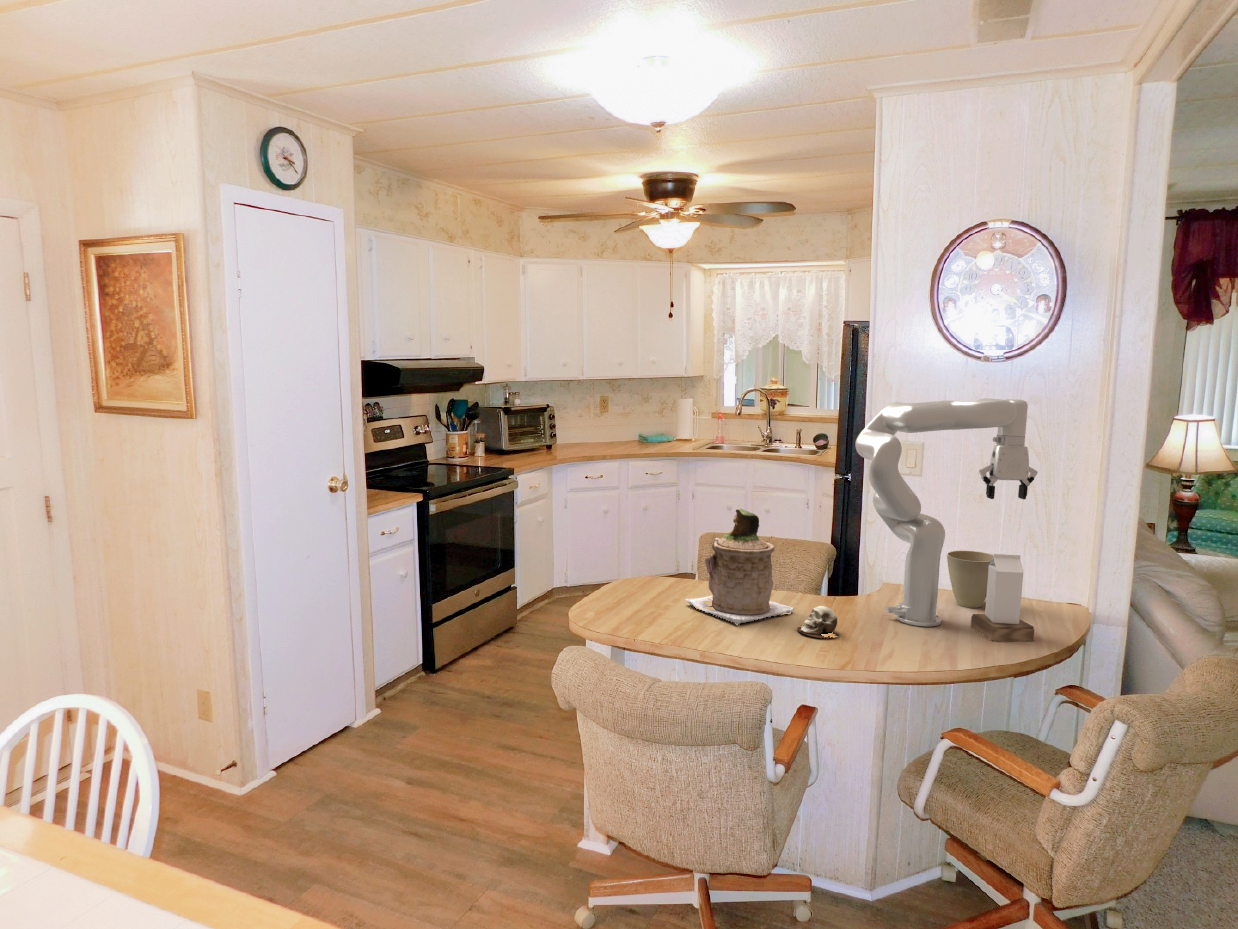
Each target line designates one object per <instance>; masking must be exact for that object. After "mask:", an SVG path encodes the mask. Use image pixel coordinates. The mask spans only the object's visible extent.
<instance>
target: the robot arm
mask: <svg viewBox="0 0 1238 929" xmlns="http://www.w3.org/2000/svg"><path fill="white" fill-rule="evenodd" d="M1028 404H1029V403H1028V402H1027V401H1026V400H1024V399H1014V398H1013V399H1011V398H1009V399H1007V398H1006V399H999V398H989V397H988V398H979V399H977V400H975V401H959V400H938V401H937V400H936V401H926V402H925V401H924V402H912V403H911V402H909V403H908V402H899V401H898V402H897V401H895V402H892V403H889V404H887V405H886V406H884V408H882V409H881V410H880V411H879V412H878V413H877V415H875V416H874V418H873V419H871V421H870V422H868V424H867V425H866V426H865V427H864V428H863V429H862V430H861V431H860V433H859V434H858V436H857V437H856V439H855V443H854V444H855V445H854V446H855V449H856V452H857V454H858V455H860V457H862V458H864V459H866V460H871V462H870V465H869V470H868V472H869V473H868V481H869V483H870V486H871V487H872V489H873V491H874V494H873V496H872V503H873V507H874V510H875V512H876V513H877V514H878V515H879V517H880V518H881V520H882V521H883V522H884V523H885V525H886V526H887V527H888V528H889V529H890V531H891V532H892V533H893V534H894V535H895V537H897V538H898V539H899V540H901V541H904V542H906V543H908V544H909V545H910V546H909V548H908V551H907V553H906V556H905V561H904V576H903V592H902V593H903V596H902V602H899V605H896V606H893V605H892V606H891V605H890V606H889V605H888V606H886V607H885V612H886V614H892V613H893V615H895V616H896V617H895V618H896V619H897V620H898V621H899V622H902V623H903V624H907V625H910V626H916V627H924V628H925V627H936V626H939V625H941V624H942V617H940V616H939V615H938V614H937V608H938V606H937V605H938V595H939V581H940V580H939V578H940V565H941V564H940V563H941V554H942V550H943V546H944V542H945V539H946V529H945V527H944V525H943V524H942V522H941V521H939V519H937V518H935V517H933V516H931V515H927V514H924V513H921V511H922V504H921V501H920V499H919V498H918V496H917V495H916V493H915V492H914V491H913V489H911V487H910V486H909V485H908V483H907V482H906V481H905V479H904V477H902V475H901V473H900V471H899V463H900V458H901V456H902V451H903V450H902V449H903V447H902V443H901V441H900V440H899V438H898V437H897V436H895V434H897V432H899V433H906V434H916V433H925V432H927V433H928V432H937V431H938V432H939V431H949V430H950V431H956V430H957V431H958V430H970V429H973V430H974V429H989V428H990V429H991V428H997V434H996V436H995V437H992V441H993V443H995V444H996V445H994V446H993V449H992V452H991V456H990V457H991V458H990V462H989V465H987V466H985V467H982V468H981V469H979V470H978V473H979V475H980V477H981V480H982V481H983V482H984V484H985V485H986V490H985V491H986V492H985V494H986V495H985V496H986V498H987V499H990V500H994V499H995V495H996V494H995V493H996V492H995V491H996V486H995V483H997V481H998V480H999V481H1019V483H1020V484H1019V485H1018V493H1017V494H1018V495H1017V497H1018V498H1019V499H1021V500H1026V499H1027V496H1028V488H1029V486H1030V484H1031V483H1033V481H1035V478H1036V477H1037V475H1038V471H1037V470H1036V469H1035V468H1032V467H1031V466H1030V456H1029V448H1028V446H1025V445H1026V444H1025V443H1026V433H1027V432H1026V431H1027V422H1028V421H1027V418H1028V408H1029V407H1028V406H1029V405H1028ZM987 473H989V474H988V475H989V477H988V476H987Z"/></svg>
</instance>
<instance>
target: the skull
mask: <svg viewBox="0 0 1238 929" xmlns="http://www.w3.org/2000/svg"><path fill="white" fill-rule="evenodd" d="M810 612H811V613H809V615H807V619H806V620H804V622H803V624H801V625H800V626H802V625H803V627H802V628H801V627H799V626H797V627H796V629H797V631H798V632H800V634H803V635H806V636H809V637H812V638H818V639H819V638H820V639H822V638H824V639H825V638H826V639H829V638H830V636H828V637H824V636H822V635H821V634H828V633H832V632H833V633H834V631H835V630H836V628H837V626H838V616H837V614H836V613H835V612H834V611H833V609H830V608H829V607H827V606H825V605H818V606H816V607H815V606H814V608H812V609H811V611H810ZM831 638H833V637H831Z"/></svg>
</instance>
